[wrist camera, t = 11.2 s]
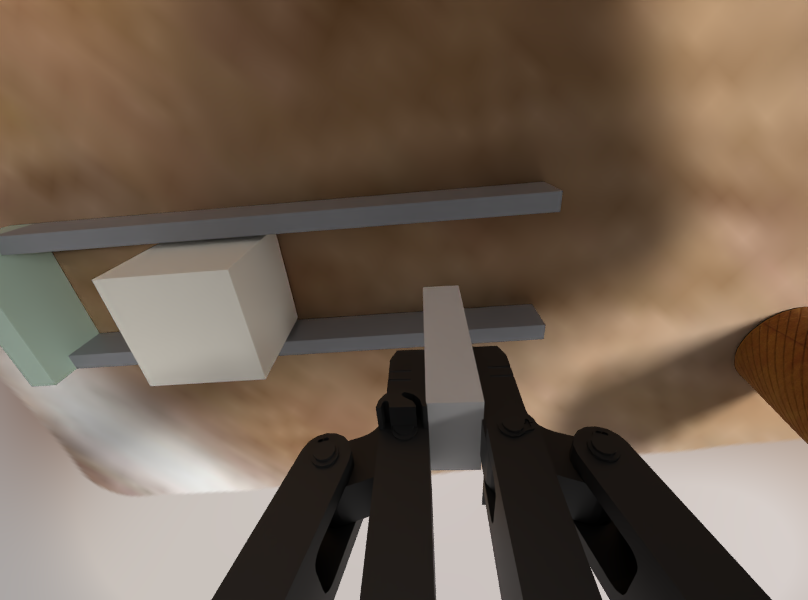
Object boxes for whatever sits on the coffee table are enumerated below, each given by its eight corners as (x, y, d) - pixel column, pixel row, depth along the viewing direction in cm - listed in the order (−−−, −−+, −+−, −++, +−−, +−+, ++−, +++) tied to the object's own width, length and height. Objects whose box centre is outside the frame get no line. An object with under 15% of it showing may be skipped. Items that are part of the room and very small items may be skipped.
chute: (9, 225, 20) (-73, 249, 17) (544, 181, 19) (576, 197, 16) (85, 346, 24) (31, 386, 21) (530, 317, 23) (552, 354, 20)
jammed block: (172, 235, 20) (91, 279, 15) (274, 227, 20) (227, 269, 15) (208, 323, 23) (150, 386, 18) (298, 317, 23) (265, 379, 18)
